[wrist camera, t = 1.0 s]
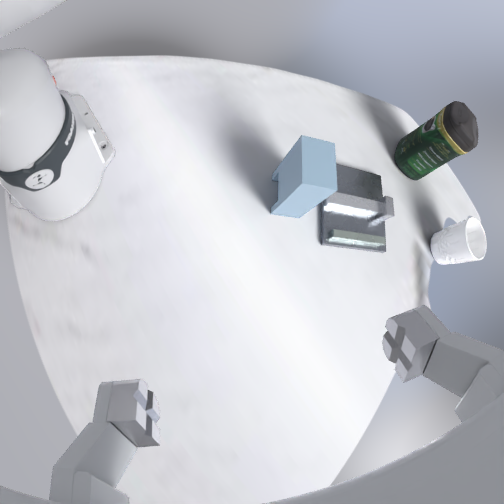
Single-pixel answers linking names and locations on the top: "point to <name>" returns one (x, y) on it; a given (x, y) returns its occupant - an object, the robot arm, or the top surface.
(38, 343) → the top surface
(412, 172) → the coffee jar
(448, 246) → the white cup
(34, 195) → the robot arm
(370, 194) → the rail plate
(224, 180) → the top surface
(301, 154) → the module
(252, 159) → the top surface
